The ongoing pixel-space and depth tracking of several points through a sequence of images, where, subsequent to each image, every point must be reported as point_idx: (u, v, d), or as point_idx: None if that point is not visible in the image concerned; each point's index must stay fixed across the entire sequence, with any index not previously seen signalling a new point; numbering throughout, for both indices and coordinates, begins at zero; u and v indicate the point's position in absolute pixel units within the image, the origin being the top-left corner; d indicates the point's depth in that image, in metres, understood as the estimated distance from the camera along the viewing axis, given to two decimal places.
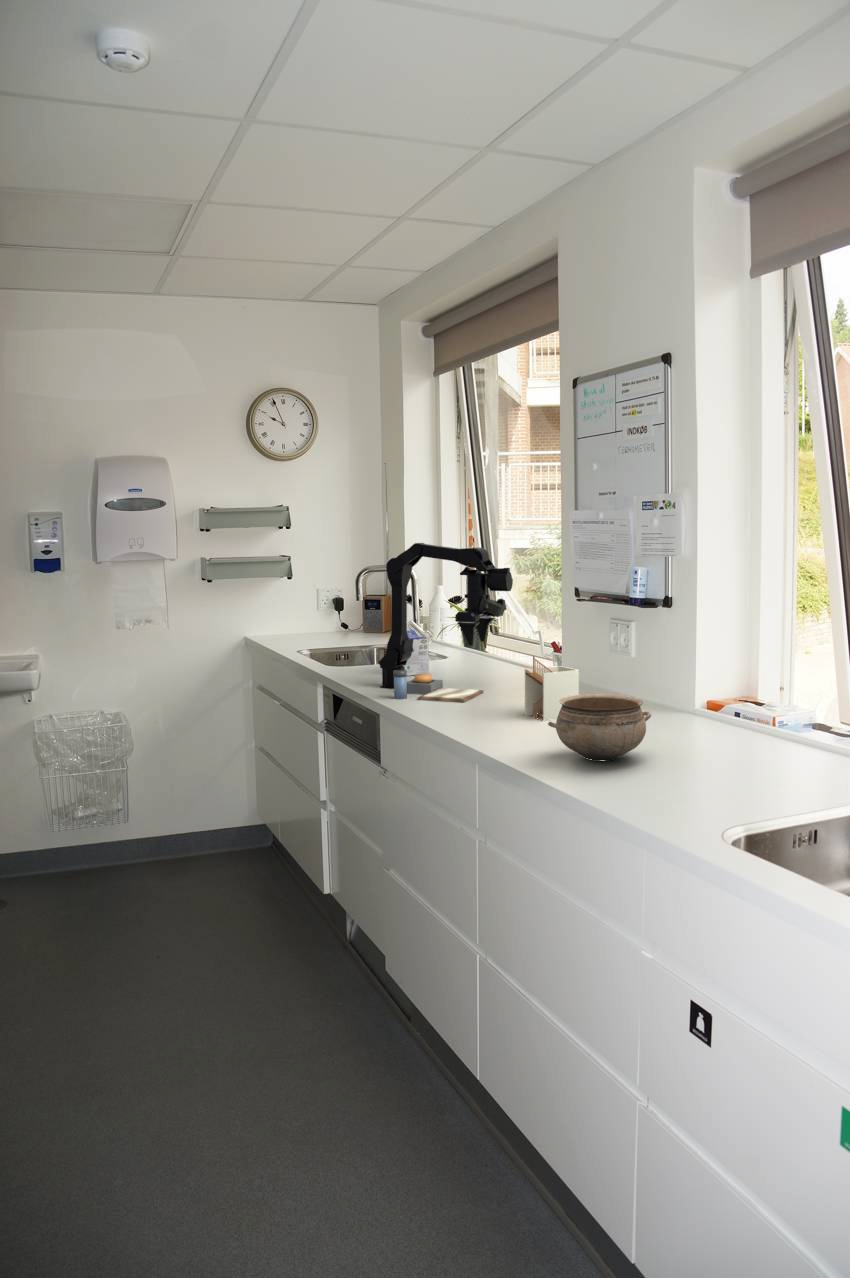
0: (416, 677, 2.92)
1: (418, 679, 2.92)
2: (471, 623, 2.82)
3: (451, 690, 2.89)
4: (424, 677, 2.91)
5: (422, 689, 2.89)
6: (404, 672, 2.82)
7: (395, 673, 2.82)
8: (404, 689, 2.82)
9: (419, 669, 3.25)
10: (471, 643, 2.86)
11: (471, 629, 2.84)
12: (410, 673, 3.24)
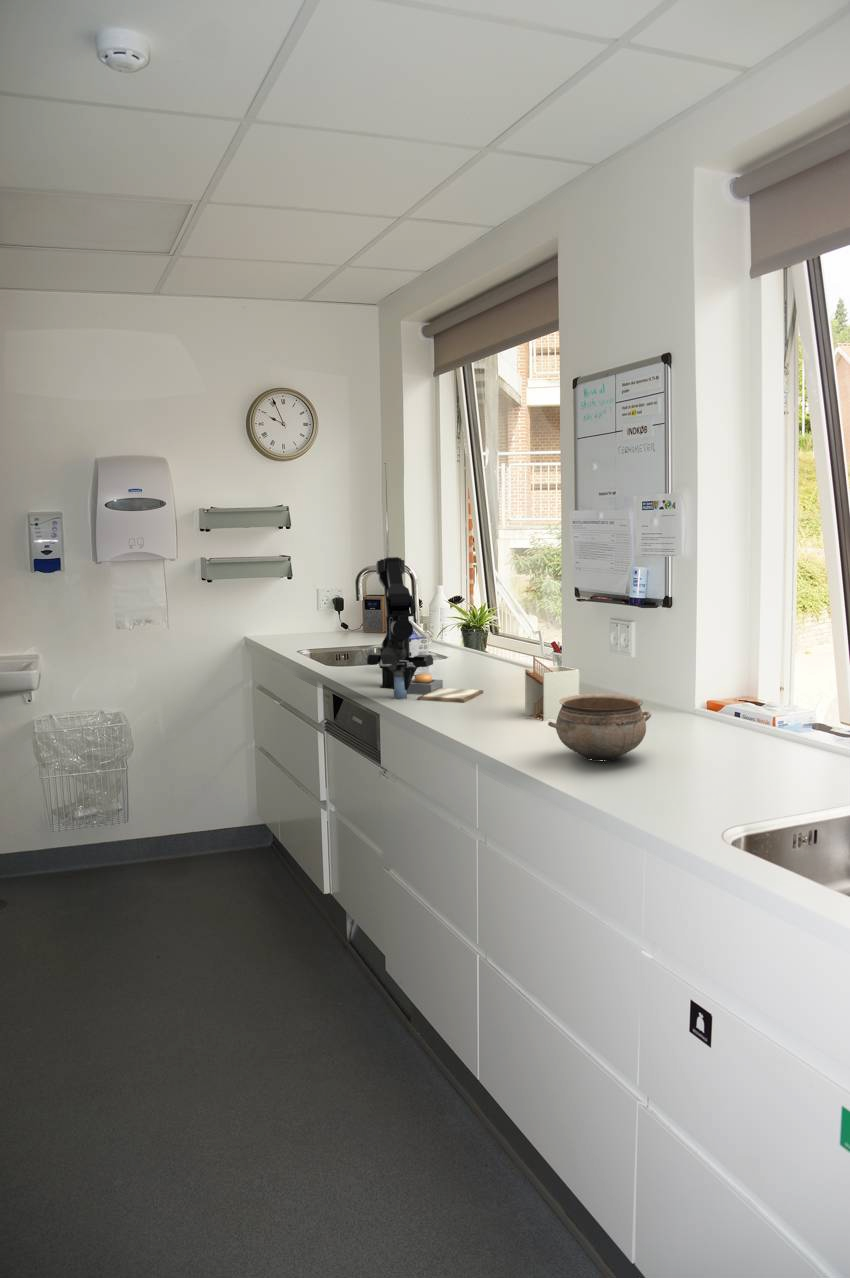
0: (416, 677, 2.92)
1: (418, 679, 2.92)
2: None
3: (451, 690, 2.89)
4: (424, 677, 2.91)
5: (422, 689, 2.89)
6: (404, 672, 2.82)
7: (395, 673, 2.82)
8: (404, 689, 2.82)
9: (419, 669, 3.25)
10: None
11: None
12: None
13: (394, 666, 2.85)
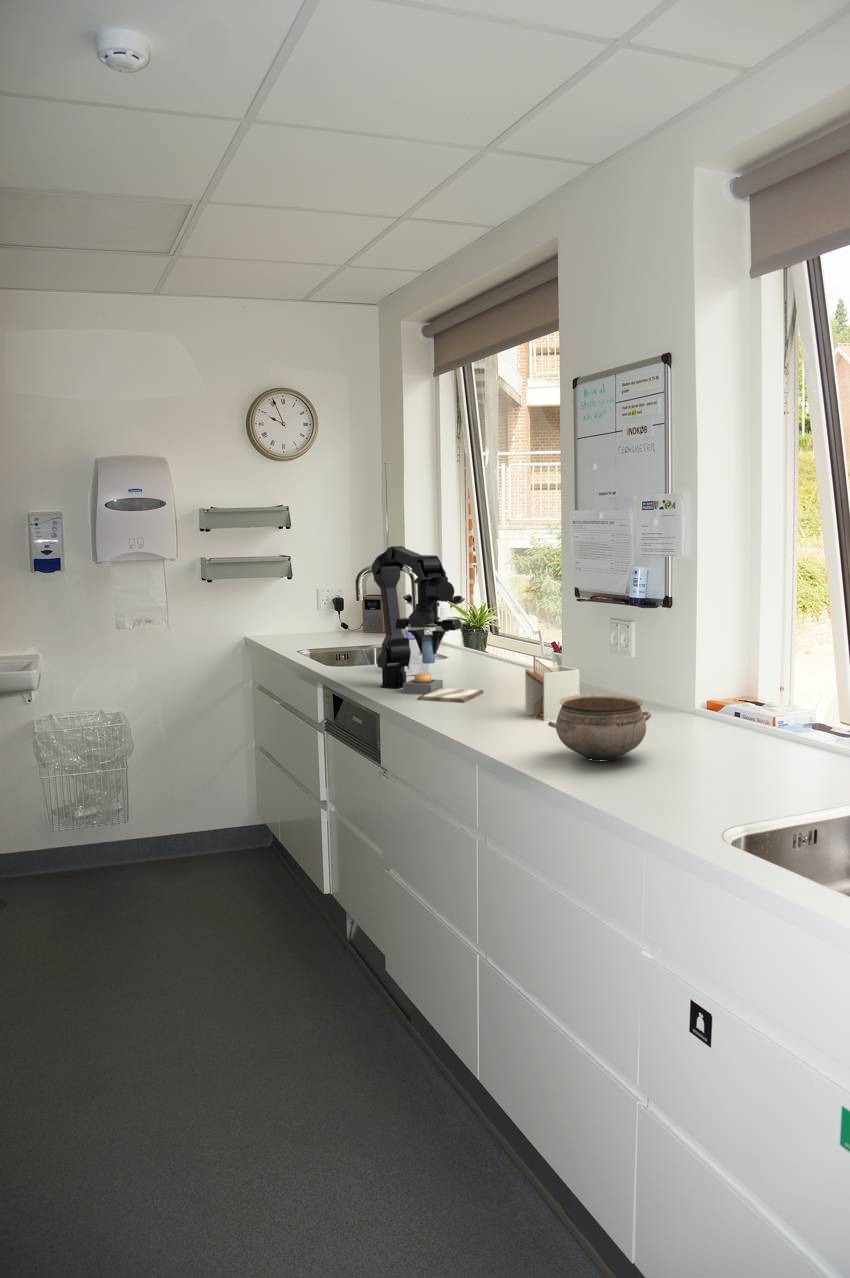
0: (416, 677, 2.92)
1: (418, 679, 2.92)
2: None
3: (451, 690, 2.89)
4: (424, 677, 2.91)
5: (422, 689, 2.89)
6: (432, 636, 2.81)
7: (423, 637, 2.81)
8: (432, 653, 2.82)
9: (419, 669, 3.25)
10: None
11: None
12: (410, 673, 3.24)
13: (422, 631, 2.85)
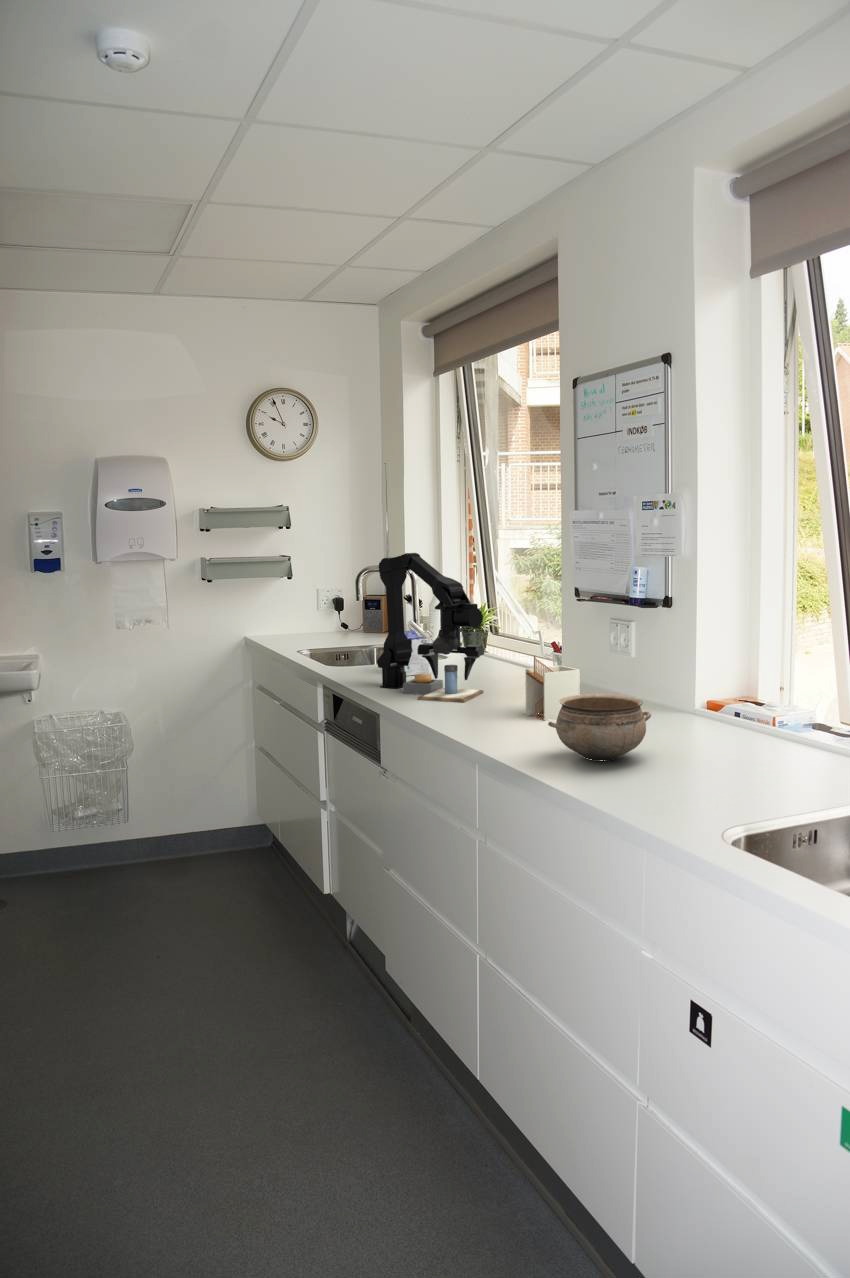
0: (416, 677, 2.92)
1: (418, 679, 2.92)
2: None
3: None
4: (424, 677, 2.91)
5: (422, 689, 2.89)
6: (455, 667, 2.83)
7: (446, 668, 2.83)
8: (455, 684, 2.84)
9: (419, 669, 3.25)
10: None
11: None
12: (410, 673, 3.24)
13: (436, 656, 2.87)
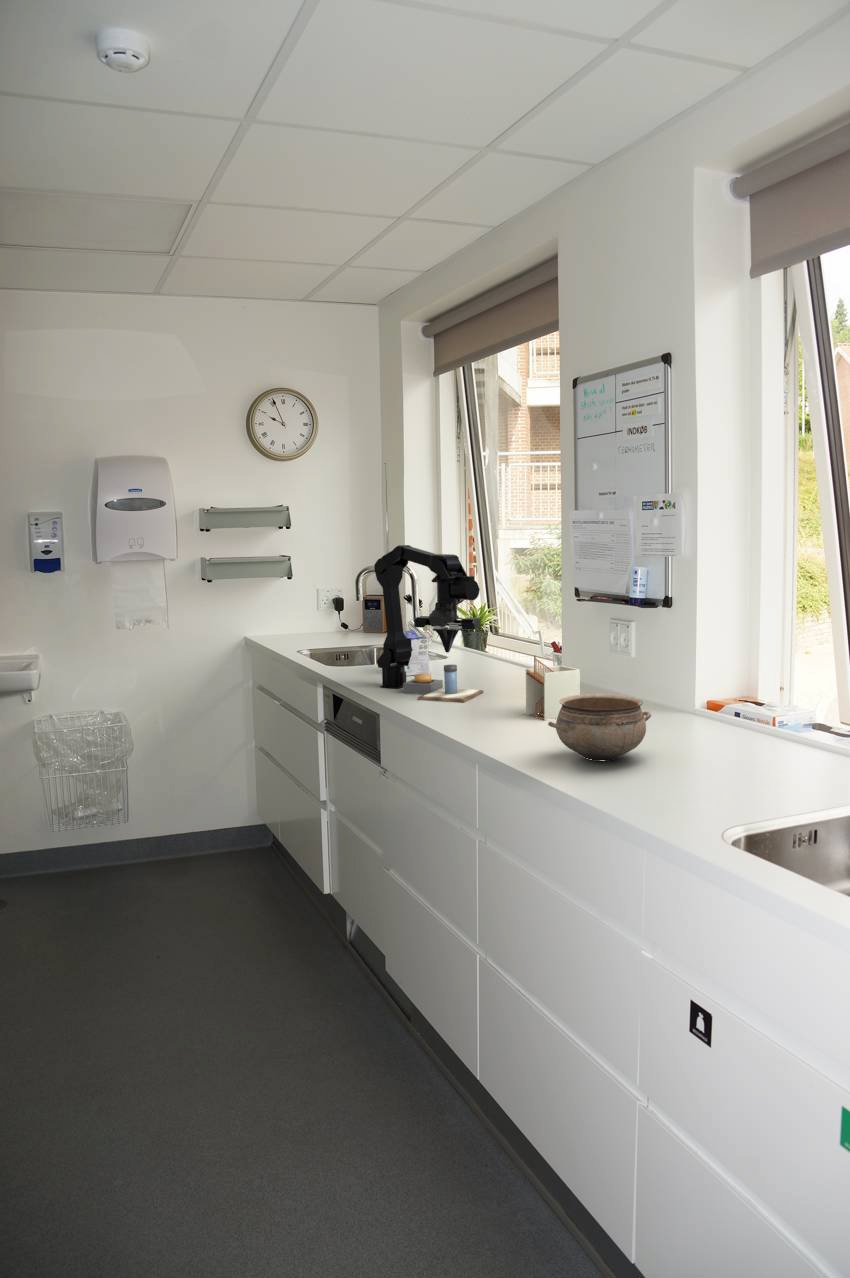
0: (416, 677, 2.92)
1: (418, 679, 2.92)
2: None
3: None
4: (424, 677, 2.91)
5: (422, 689, 2.89)
6: (455, 667, 2.83)
7: (446, 668, 2.83)
8: (455, 684, 2.84)
9: (419, 669, 3.25)
10: None
11: None
12: (410, 673, 3.24)
13: (447, 629, 2.86)
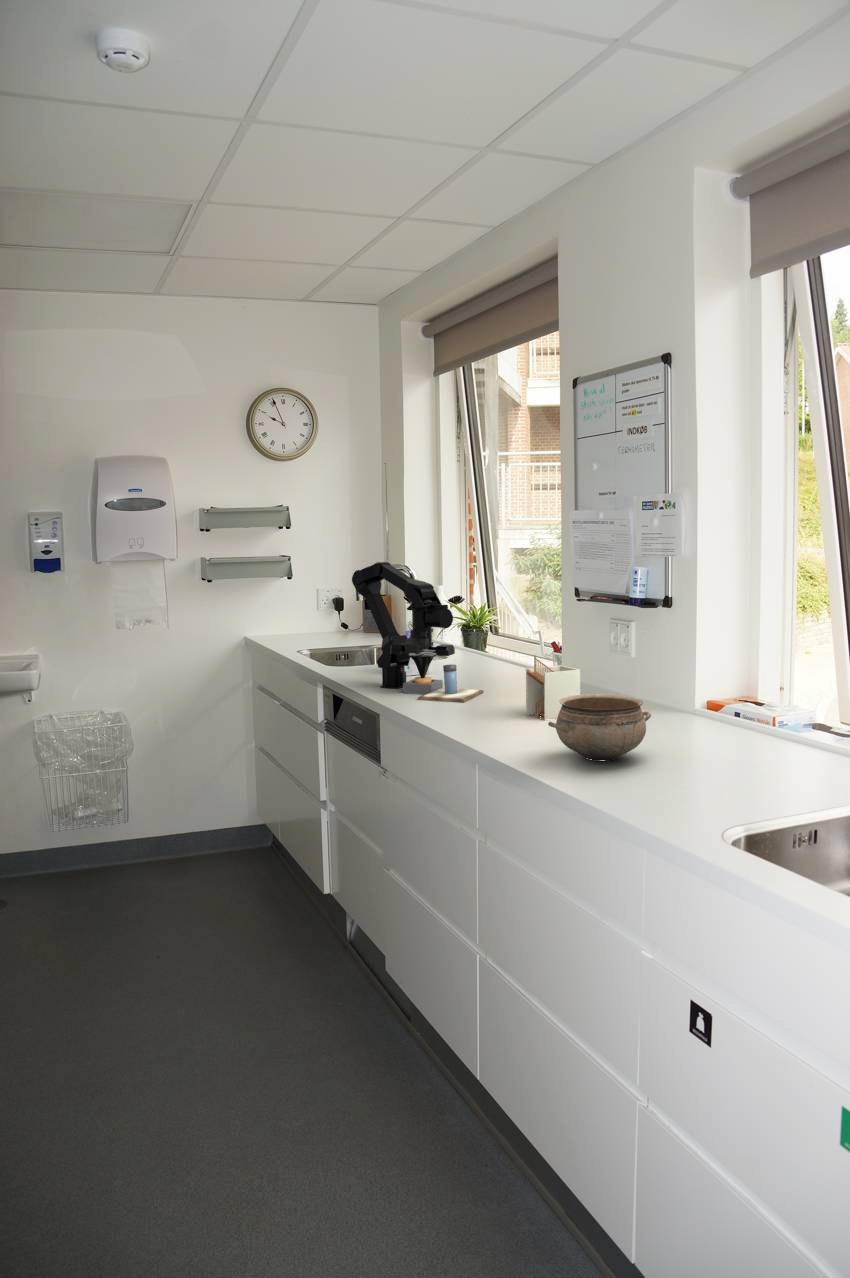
0: (416, 680, 2.92)
1: (418, 682, 2.92)
2: None
3: None
4: (424, 680, 2.91)
5: (422, 689, 2.89)
6: (454, 666, 2.83)
7: (445, 668, 2.83)
8: (455, 683, 2.84)
9: None
10: None
11: None
12: (410, 673, 3.24)
13: (422, 656, 2.95)
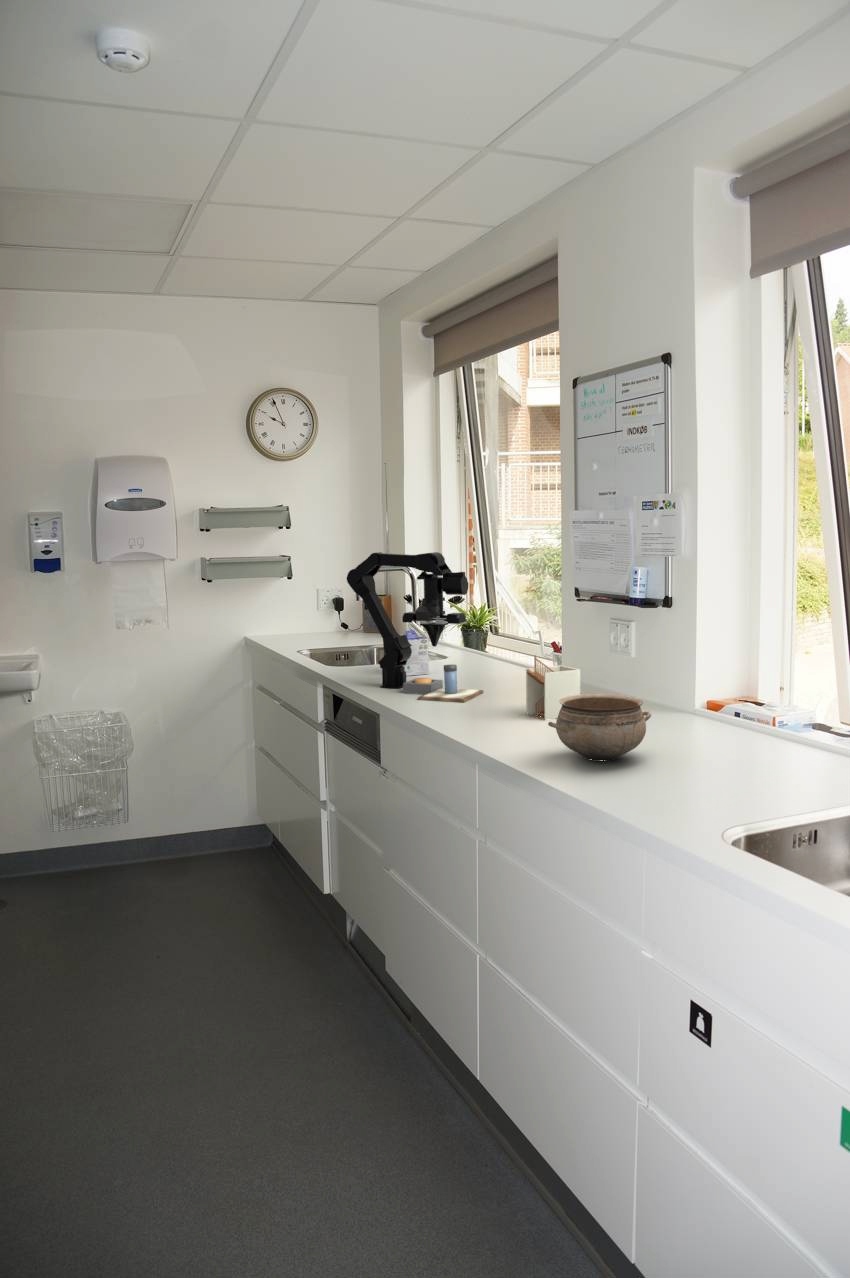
0: (416, 681, 2.92)
1: None
2: None
3: None
4: (424, 681, 2.91)
5: (422, 689, 2.89)
6: (455, 666, 2.83)
7: (446, 667, 2.83)
8: (455, 683, 2.84)
9: (419, 669, 3.25)
10: None
11: None
12: (410, 673, 3.24)
13: None
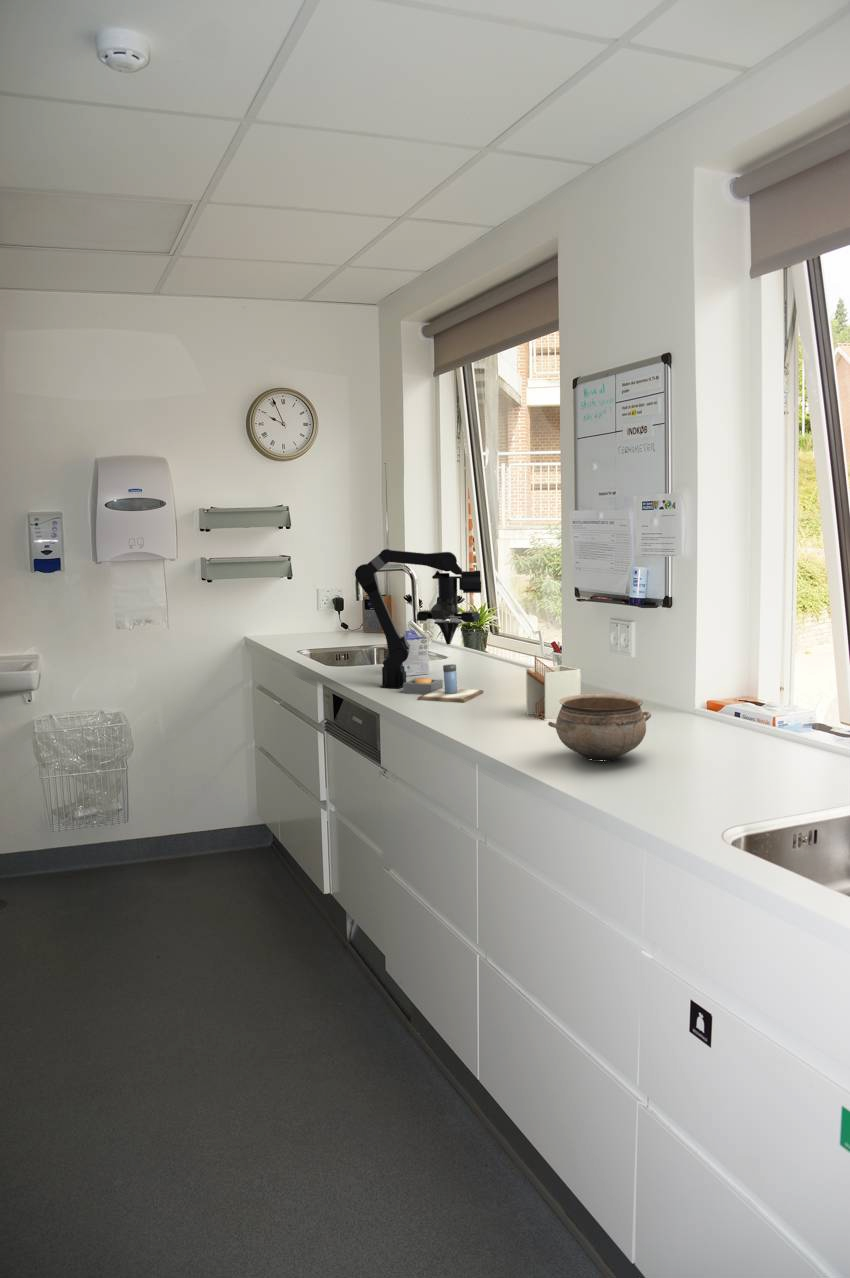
0: (416, 681, 2.92)
1: None
2: None
3: None
4: (424, 681, 2.91)
5: (422, 689, 2.89)
6: (455, 666, 2.83)
7: (446, 668, 2.83)
8: (455, 683, 2.84)
9: (419, 669, 3.25)
10: None
11: None
12: (410, 673, 3.24)
13: (448, 623, 3.02)
